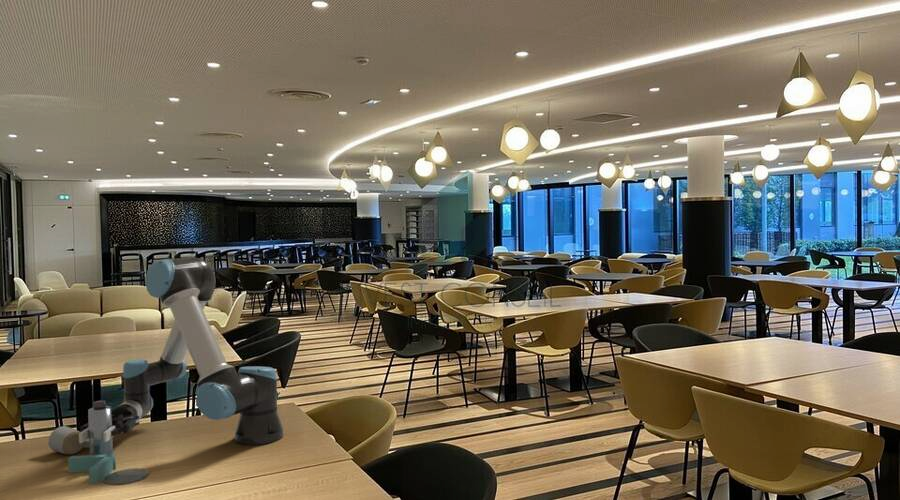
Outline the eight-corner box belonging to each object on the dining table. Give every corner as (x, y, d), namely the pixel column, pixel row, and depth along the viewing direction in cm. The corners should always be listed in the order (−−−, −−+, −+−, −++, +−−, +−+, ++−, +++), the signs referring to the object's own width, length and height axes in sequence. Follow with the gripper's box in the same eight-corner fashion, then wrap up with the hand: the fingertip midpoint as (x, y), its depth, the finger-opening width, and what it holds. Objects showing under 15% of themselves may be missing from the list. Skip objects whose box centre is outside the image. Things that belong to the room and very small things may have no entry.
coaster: (154, 468, 186) (154, 467, 186) (139, 483, 175) (139, 482, 175) (114, 470, 185) (113, 469, 185) (96, 485, 174) (96, 484, 174)
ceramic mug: (63, 458, 196) (63, 433, 196) (48, 454, 200) (47, 429, 200) (97, 448, 205) (97, 424, 205) (82, 445, 209) (81, 421, 209)
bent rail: (117, 467, 188) (116, 453, 188) (98, 483, 175) (97, 468, 175) (72, 469, 187) (71, 455, 186) (50, 486, 174) (49, 471, 174)
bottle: (116, 458, 195) (114, 398, 195) (107, 465, 189) (105, 404, 189) (95, 459, 194) (93, 399, 194) (86, 467, 188) (84, 405, 188)
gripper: (156, 425, 210) (127, 449, 187) (94, 428, 209) (58, 452, 186) (155, 402, 210) (126, 423, 187) (93, 405, 208) (57, 426, 185)
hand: (92, 437), depth 186 cm, fingers closed on bottle, 6 cm apart
